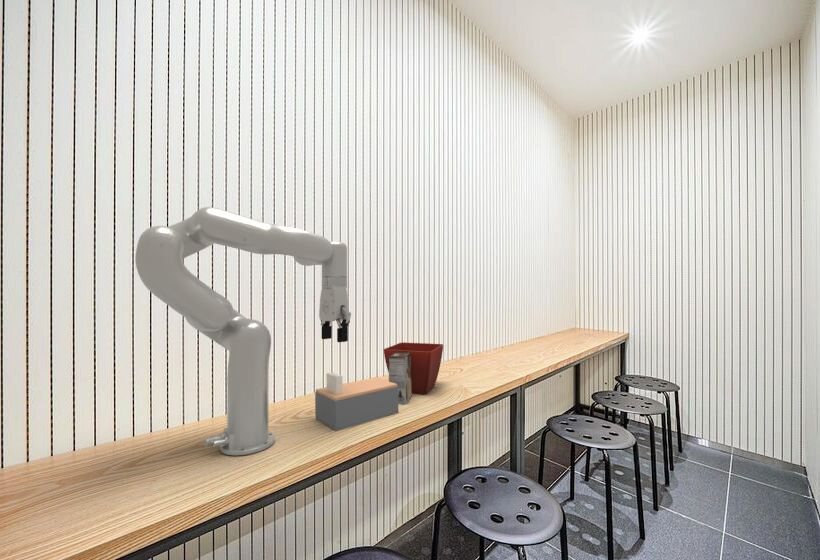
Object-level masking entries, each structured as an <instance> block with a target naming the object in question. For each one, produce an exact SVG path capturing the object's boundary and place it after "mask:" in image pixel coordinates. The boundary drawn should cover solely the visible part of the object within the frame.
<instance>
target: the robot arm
mask: <svg viewBox="0 0 820 560" xmlns="http://www.w3.org/2000/svg"><path fill="white" fill-rule="evenodd" d="M212 245H220V246H224V247H228V248H233V249H236V250H241V251H244V252H247V253H251V254H256V255H265V256H266V255H282V256H290V257H293V260H294V261H295V262H296V263H298V264H299V265H301V266H305V267H306V266H307V267H308V266H321V290H320V297H319V311H318V312H319V313H318V316H319V320H320V326H321V340H331V339H333V337H332V336H333V335H332V333H333V331H332V329H333V328H332V327H333V326H332V325H331V324H332V322H335V321H336V324H337V326H338V328H336V329H337V330H336V340H337V341H336V342H337V343H346V342H348V341H349V326H350V323H351V316H352V313H351V312H350V310H349V300H348V299H349V298H348V290H347V289H348V247H347V245H346V243H345V242H341V241H329V240H328V239H327V238H326V237H324V236H323V235H319V234H318V233H317V234H316V233H313V232H311V231H307V230H303V229H300V228H295V227H291V226H285V225H279V224H274V223H267V222H263V221H260V220H256V219H253V218H250V217H247V216H243V215H240V214H237V213H234V212H230V211H227V210H224V209H220V208H217V207H212V206H211V207H210V206H205V207H202V208H199V209H198V210H196V211H195V212H194V213H193V214H192V215H191V216H189V217H188V218H186V219H184V220H181V221H180V222H177V223H175V224H172V225H170V226H165V225H155V226H151V227H149V228H146V229H145V230H144V231H143V232H142V233H141V235H140V236H139V238H138V240H137V245H136V250H135V257H134V258H135V259H134V261H135V266H136V267H135V268H136V270H137V273H138V276H139V278H140V280H141V282H142V284H143V285H144V286H145V288H146V289H147V290H148V291H149V292H150V293H152V295H154V296H155V297H156V298H157V299H159V300H160V301H162V302H163V303H164V304H166V305H167V306H168V307H170V308H171V309H172V310H173V311H175V312H177V313H178V314H180V315H181V316H182V317H184V318H185V320H186V322H187V323H188V324H189V325H190V326H191V327H192V328H193V329H195V330H196V331H198V332H200V333H201V334H203V335H204V336H206V337H207V338H209V339H210V340H212V341H213V342H215V343H216V344H218V345H219V346H221V347H222V348H224V349H225V350H227V351H229V354H228V364H227V379H226V381H227V383H226V385H227V393H226V394H227V396H226V397H227V398H226V399H227V404H226V405H227V409H226V412H227V413H226V415H227V417H226V418H227V422H226V423H227V425H226V426H227V427H226V428H223V432H220V433H219V434H217V435H212V436H208V437H205V439H204V445H205V447H209V446H213V447H214V448H216V447H219V450H220V452H221V453H222V454H224V455H227V456H245V455H251V454H255V453H258V452H261V451H264V450H266V449H268V448H270V447H271V446H272V445H273V444H274V443H275V441H276V435H275V434H274V433H273V432H271V431H269V368H270V367H269V365H270V356H271V355H270V354H271V348H272V347H271V346H272V337H271V332H270V330H269V328H268V327H267V326H266V324H264V323H263V322H261V321H259V320H257V319H251V318H247V317H245V316H244V315H243V314H241V313H240V312H238V311H237V310H236V309H234V307H233V305H232V302H230V301H229V300H228V298H227V297H225V296H223V295H222V294H220V293H218V292H217V291H216V290H214V289H213V288H211V287H210V286H209V285H207V284H206V283H205V282H203V281H201V280H200V279H199V277H197V276H196V275H194V274H193V273H192V272H191V271H190V270H189V269H188V268H187V267H186V264H184V263H185V262H184V260H183V259H185V258H187V257H190V256H192V255H194V254H197V253H198V252H201V251H203V250H204V249H207V248H208V247H210V246H212Z"/></svg>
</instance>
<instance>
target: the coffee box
mask: <svg viewBox="0 0 820 560" xmlns="http://www.w3.org/2000/svg"><path fill="white" fill-rule="evenodd" d="M388 360H389V373H388V381H389V382H392V383H395V384H397V387H398V405H399V404H400V405H402V404H404V405H406V404H408V402H409V401H410V399H411V398H412V395H413V393H412V389H411V353H394V354H392V355H391V356H389V357H388Z"/></svg>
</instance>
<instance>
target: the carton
mask: <svg viewBox="0 0 820 560" xmlns="http://www.w3.org/2000/svg"><path fill="white" fill-rule="evenodd" d="M314 393H315V394H314V396H315V398H314V399H315V401H314V403H315V409H314V410H315V413H314V414H315V420H316V421H318V422H320V423H322V424H324V425H325V426H327V427H328V428H331V429H332V430H334V431H335V432H338V431H341V430H344V429H345V430H346V429H348V428H350V427H354V426H358V425H361V424H364V423H368V422H371V421H374V420H378V419H382V418H384V417H388V416H392V415H395V413H396V414H399V404H398V387H394V388H390V389H385V390H381V391H377V392H372V393H368V394H364V395H360V396H355V397H351V398H347V399H342V400H338V401H334V400H332V399H330V398H328V397H325V396H323V395H321V394H319V393H317V392H316V391H315V392H314Z"/></svg>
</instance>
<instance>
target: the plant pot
mask: <svg viewBox="0 0 820 560" xmlns="http://www.w3.org/2000/svg"><path fill="white" fill-rule="evenodd" d="M443 351H444V344H442V343H426V342H425V343H423V342H405V341H403V342H402V341H401V342H399V343H396V344H393V345H391V346H388V347H386V348H383V354H384V355H383V356H384V360H385V364H386V369H387V372H388V374H389V360H388V357H389V356H391V355H392V354H394V353H411V389H412V394H418V395H426V394H428V393H429V392H430V391H431V390H432V389H433V388H434V387H435V386H436V383H437V380H438V375H439V371H440V368H441V364H442V358H443Z"/></svg>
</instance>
